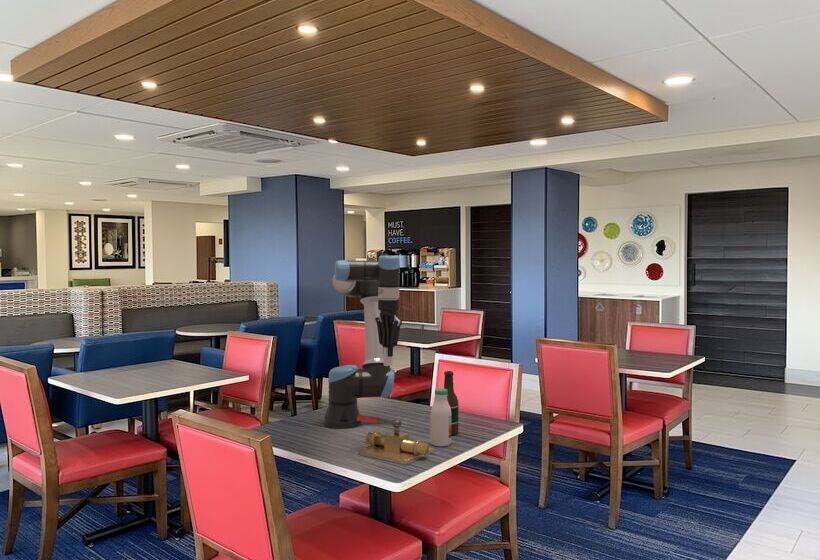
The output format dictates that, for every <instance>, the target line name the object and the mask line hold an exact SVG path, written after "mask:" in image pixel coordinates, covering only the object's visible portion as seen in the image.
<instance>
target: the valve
mask: <svg viewBox="0 0 820 560" xmlns="http://www.w3.org/2000/svg"><path fill="white" fill-rule="evenodd" d="M393 427H394V428H393V430H392V431H391V432H388V433H385V434H381V432H380V431H379V432H378V431H374V432H371V431H369V432H368V433H366V435H365V436H366V437H365V442H366V444H367V445H369V446H366V447H364V448H361V449H359V450H357V455H361V456H364V457H368V458H373V459H379V460H383V461H386V462H390V463H393V464H394V463H395V464H399V465H403V466H407V465H409V464H411V463H413V462H416V461H417V460H419V459H422V458H424V457H426V456H428V455H430V454H433V453H435V451H436V449H435V447H431V446H430V444H428V443H427V442H426V443H425V442H423V440H420V439H416V441H415V440H410V433H406V432H401V431H400V426H393Z"/></svg>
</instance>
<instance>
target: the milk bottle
mask: <svg viewBox="0 0 820 560" xmlns="http://www.w3.org/2000/svg"><path fill="white" fill-rule="evenodd" d="M447 393H448V390H447V389H444V387H443V388H441V387H440V388H435V389H434V396H435V398H434V401H433V403H432V405H431V406H432V407H431V410H430V419H429V420H430V423H429V425H430V426H429V427H430V428H429V442H430V445H431V446H435V447H448V446H450V445H451V444H452V436H451V428H452V417H451V408H450V406H449V403H448V400H447Z"/></svg>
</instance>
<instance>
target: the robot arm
mask: <svg viewBox="0 0 820 560" xmlns="http://www.w3.org/2000/svg"><path fill="white" fill-rule="evenodd" d="M400 261H401V260H400V257H399V256H398V255H380V256H379V257H378V260H352V259H351V260H349V259H340V260H339V259H338V260H336V261H335V263H334V275H333V276H332V279H331V284H332V287H333V289H334V290H335V292H337V293H339V294H341V295H342V296H345V297H349V298H359V301H360V303H361V304H362V305H363V310H364V311H363V312H364V313H363V315H364V317H363V318H364V319H363V320H364V321H363V322H364V344H365V345H364V346H365V347H364V349H365V351H364V353H365V361H364V362H363V363H362V364H361V368H358V366H357V365H355V364H346V365H340V366H336V367H333V368H331V369H330V371H329V373H328V380H327V381H328V382H327V383H328V403H327V404H328V406H327V408H326V411H325V415H324V418H323V425H324V426H326V427H328V428H333V429H352V428H355V427H356V428H357V427H359V426H362V421H357V417H358V416H360V415H361V414H360V409H359V407H358V399H360V398H361V399H363V398H385V397H386V398H387V397H389V396H391V395H392V393H393V389H394V384H395V369H394V368H393V367H391V366H393V356H394V348H395V347H397V346H398V344H399V343H398V342H399V337H400V329H401V326H402V324H403V320H402V319H399V318H398V311H400V300H399V298H400V273H401V272H400V268H401V264H400Z"/></svg>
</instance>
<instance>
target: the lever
mask: <svg viewBox="0 0 820 560" xmlns="http://www.w3.org/2000/svg"><path fill="white" fill-rule="evenodd" d="M357 421H361V422H365V423H374V424H378V423H379V424H386V425H387V424H388V425H391V426H393V427H394V426H399V427H401V426H402V419H399V418H397V419H396V418H394V419H386V418H381V417H377V416H367V415H361V414H360V416H358V417H357Z"/></svg>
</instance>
